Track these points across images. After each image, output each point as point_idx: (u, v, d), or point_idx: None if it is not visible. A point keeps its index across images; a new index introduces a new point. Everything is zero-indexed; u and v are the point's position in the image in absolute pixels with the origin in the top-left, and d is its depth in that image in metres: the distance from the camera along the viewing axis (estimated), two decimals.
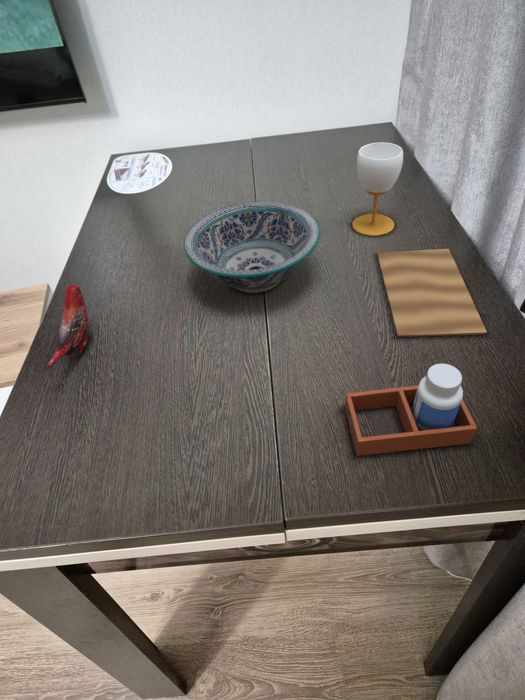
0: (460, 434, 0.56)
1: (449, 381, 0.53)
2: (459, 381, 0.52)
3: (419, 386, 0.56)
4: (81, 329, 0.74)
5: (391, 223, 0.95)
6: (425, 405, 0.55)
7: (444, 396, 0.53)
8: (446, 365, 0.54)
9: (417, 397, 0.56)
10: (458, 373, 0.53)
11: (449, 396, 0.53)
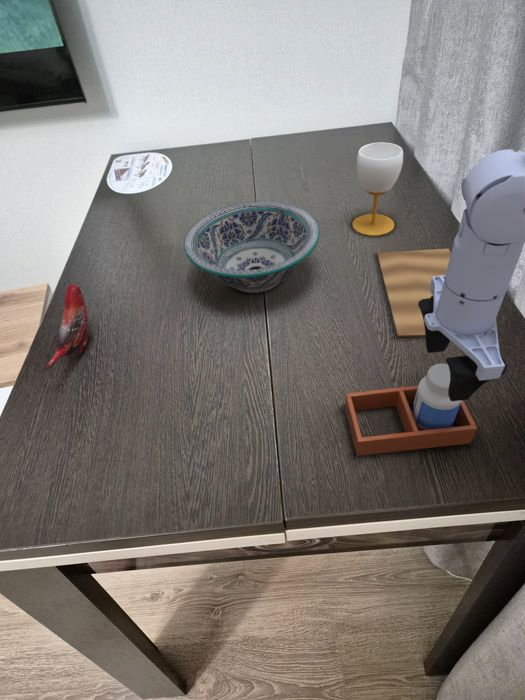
0: (460, 434, 0.56)
1: (449, 381, 0.53)
2: None
3: (419, 386, 0.56)
4: (82, 329, 0.74)
5: (391, 223, 0.95)
6: (425, 405, 0.55)
7: (444, 396, 0.53)
8: (446, 365, 0.54)
9: (417, 397, 0.56)
10: None
11: None
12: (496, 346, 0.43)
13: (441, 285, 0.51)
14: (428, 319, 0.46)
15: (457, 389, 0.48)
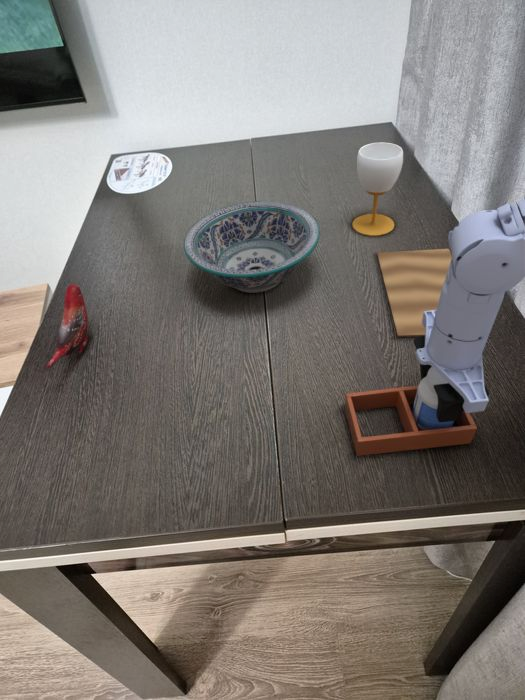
0: (460, 434, 0.56)
1: None
2: None
3: (419, 386, 0.56)
4: (81, 329, 0.74)
5: (391, 223, 0.95)
6: (425, 406, 0.55)
7: None
8: None
9: (417, 397, 0.56)
10: None
11: None
12: (481, 381, 0.47)
13: (432, 319, 0.54)
14: (420, 354, 0.50)
15: (444, 412, 0.53)
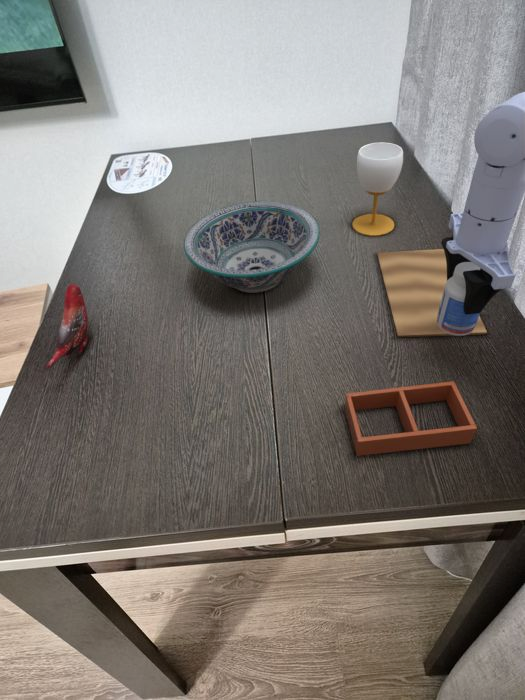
0: (460, 434, 0.56)
1: None
2: None
3: (446, 284, 0.61)
4: (81, 329, 0.74)
5: (391, 223, 0.95)
6: (452, 300, 0.60)
7: None
8: (472, 263, 0.59)
9: (444, 295, 0.61)
10: None
11: None
12: (508, 261, 0.52)
13: (459, 221, 0.59)
14: (450, 244, 0.55)
15: (471, 302, 0.57)
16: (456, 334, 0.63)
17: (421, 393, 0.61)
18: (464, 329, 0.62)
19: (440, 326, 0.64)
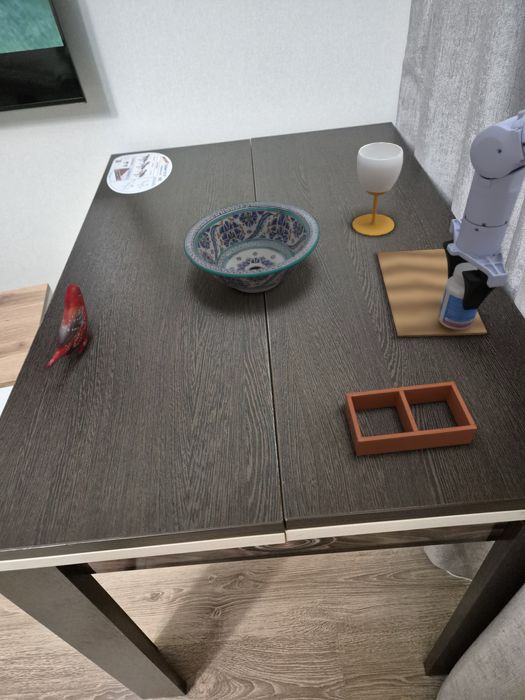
0: (460, 434, 0.56)
1: None
2: None
3: (447, 283, 0.67)
4: (81, 329, 0.74)
5: (391, 223, 0.95)
6: (452, 297, 0.66)
7: None
8: (470, 263, 0.66)
9: (445, 293, 0.68)
10: None
11: None
12: (502, 262, 0.58)
13: (459, 225, 0.66)
14: (450, 247, 0.62)
15: (469, 299, 0.64)
16: (456, 328, 0.69)
17: (421, 393, 0.61)
18: (463, 323, 0.69)
19: (441, 321, 0.71)
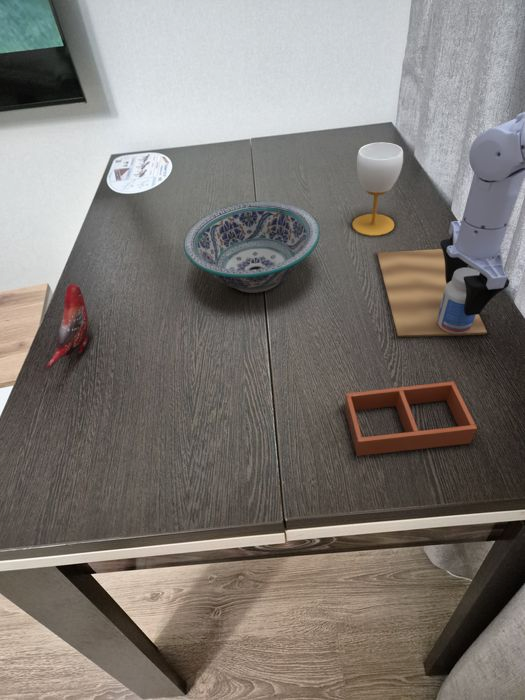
0: (460, 434, 0.56)
1: None
2: None
3: (446, 287, 0.68)
4: (81, 329, 0.74)
5: (391, 223, 0.95)
6: (451, 302, 0.67)
7: None
8: (468, 268, 0.66)
9: (444, 297, 0.68)
10: (479, 273, 0.65)
11: None
12: (501, 265, 0.58)
13: (458, 227, 0.66)
14: (450, 249, 0.62)
15: (471, 304, 0.64)
16: (454, 332, 0.70)
17: (421, 393, 0.61)
18: (462, 328, 0.69)
19: (440, 325, 0.71)
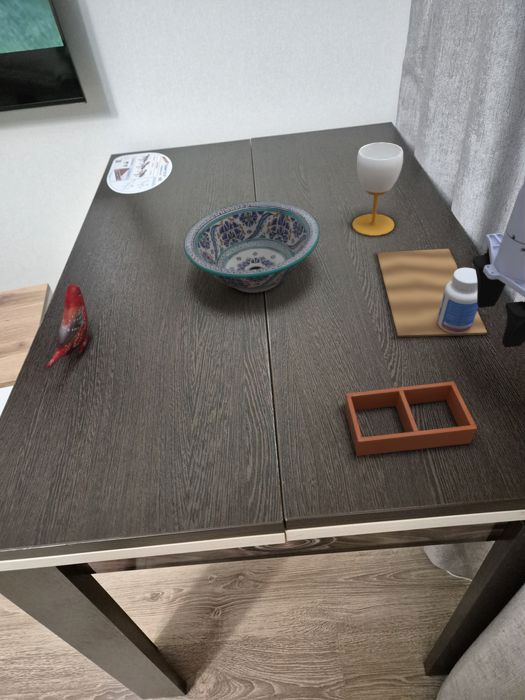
0: (460, 434, 0.56)
1: (472, 279, 0.65)
2: None
3: (446, 287, 0.68)
4: (81, 329, 0.74)
5: (391, 223, 0.95)
6: (451, 302, 0.67)
7: (467, 292, 0.65)
8: (468, 268, 0.66)
9: (444, 297, 0.68)
10: None
11: (471, 292, 0.65)
12: None
13: (495, 242, 0.55)
14: (488, 269, 0.51)
15: (512, 334, 0.53)
16: (454, 332, 0.70)
17: (421, 393, 0.61)
18: (462, 328, 0.69)
19: (440, 325, 0.71)
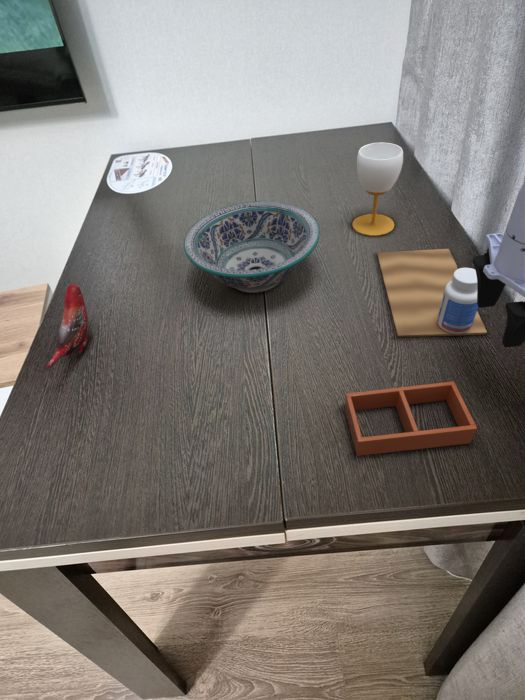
0: (460, 434, 0.56)
1: (472, 279, 0.65)
2: None
3: (446, 287, 0.68)
4: (81, 329, 0.74)
5: (391, 223, 0.95)
6: (451, 302, 0.67)
7: (467, 292, 0.65)
8: (469, 268, 0.66)
9: (444, 297, 0.68)
10: None
11: (471, 292, 0.65)
12: None
13: (495, 242, 0.55)
14: (488, 269, 0.51)
15: (512, 334, 0.53)
16: (454, 332, 0.70)
17: (421, 393, 0.61)
18: (462, 328, 0.69)
19: (440, 325, 0.71)
